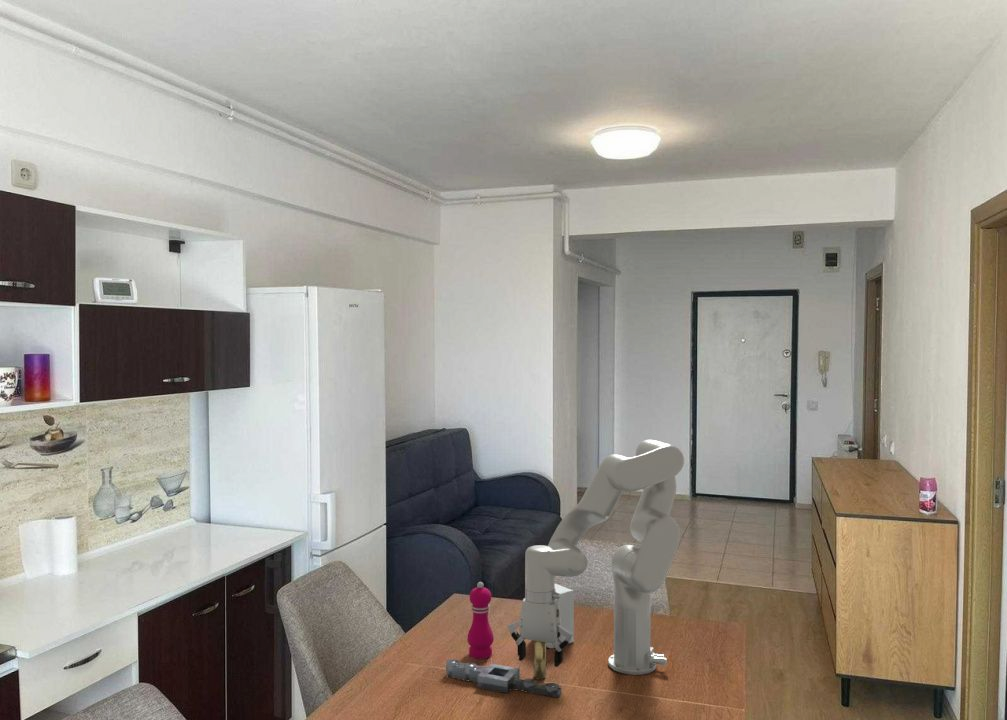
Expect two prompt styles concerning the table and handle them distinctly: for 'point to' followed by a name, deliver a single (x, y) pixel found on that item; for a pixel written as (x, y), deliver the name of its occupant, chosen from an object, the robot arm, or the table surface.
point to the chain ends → (499, 678)
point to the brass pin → (539, 659)
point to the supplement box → (565, 611)
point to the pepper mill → (480, 623)
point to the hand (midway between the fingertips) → (539, 661)
